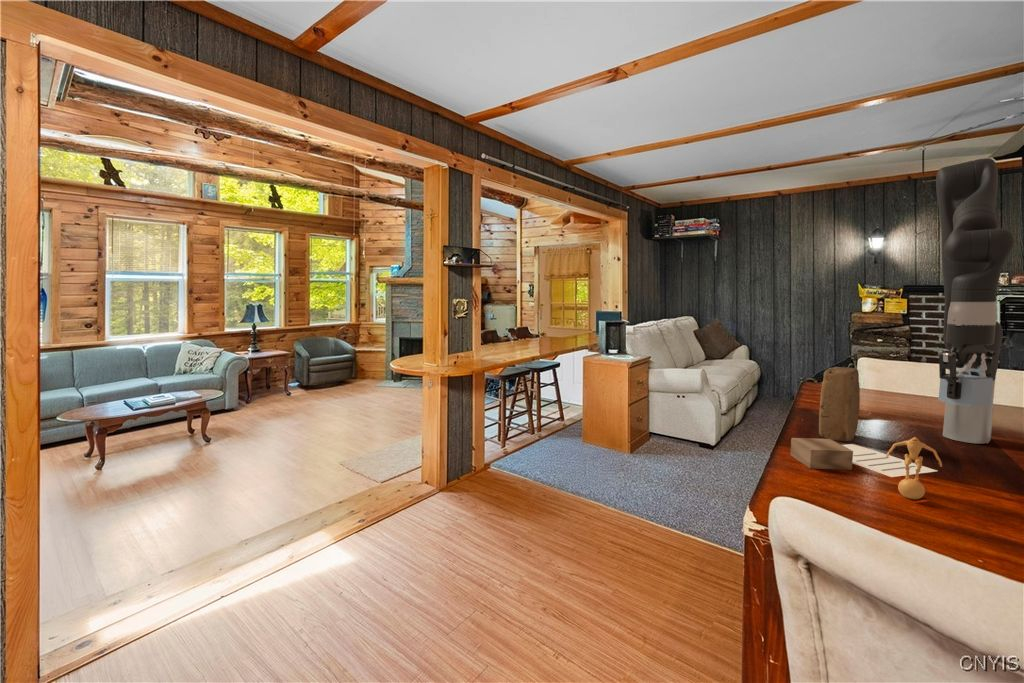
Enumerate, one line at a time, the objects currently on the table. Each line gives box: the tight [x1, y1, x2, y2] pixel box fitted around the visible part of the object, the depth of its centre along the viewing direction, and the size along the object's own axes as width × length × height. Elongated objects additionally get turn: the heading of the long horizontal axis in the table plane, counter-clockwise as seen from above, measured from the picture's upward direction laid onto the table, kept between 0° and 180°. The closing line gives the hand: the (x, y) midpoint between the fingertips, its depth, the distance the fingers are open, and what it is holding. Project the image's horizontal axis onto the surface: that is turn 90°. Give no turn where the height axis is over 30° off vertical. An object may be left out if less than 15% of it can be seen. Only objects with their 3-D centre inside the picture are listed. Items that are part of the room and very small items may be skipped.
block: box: [818, 366, 861, 442], centre depth 128 cm, size 11×8×20 cm
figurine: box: [886, 436, 943, 500], centre depth 90 cm, size 8×6×12 cm
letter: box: [842, 443, 938, 478], centre depth 111 cm, size 14×20×1 cm
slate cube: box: [938, 374, 993, 407], centre depth 101 cm, size 6×6×6 cm
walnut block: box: [790, 437, 853, 471], centre depth 109 cm, size 9×9×5 cm
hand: (964, 397), depth 101 cm, fingers closed on slate cube, 6 cm apart
